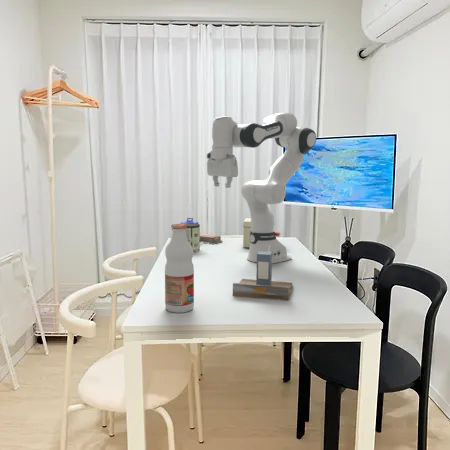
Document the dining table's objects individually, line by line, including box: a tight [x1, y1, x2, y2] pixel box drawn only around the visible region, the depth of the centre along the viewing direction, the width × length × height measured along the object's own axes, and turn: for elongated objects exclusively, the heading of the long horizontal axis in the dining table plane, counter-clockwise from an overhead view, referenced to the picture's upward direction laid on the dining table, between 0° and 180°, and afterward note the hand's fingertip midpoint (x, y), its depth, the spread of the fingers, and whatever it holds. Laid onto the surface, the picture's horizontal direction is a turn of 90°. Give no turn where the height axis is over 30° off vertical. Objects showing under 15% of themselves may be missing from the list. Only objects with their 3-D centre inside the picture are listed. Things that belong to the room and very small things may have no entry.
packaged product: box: [200, 232, 224, 245], centre depth 262 cm, size 18×5×10 cm
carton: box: [255, 251, 273, 286], centre depth 163 cm, size 5×5×13 cm
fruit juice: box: [164, 223, 195, 314], centre depth 142 cm, size 9×9×28 cm
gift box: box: [242, 217, 251, 249], centre depth 249 cm, size 17×18×17 cm
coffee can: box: [186, 223, 201, 253], centre depth 236 cm, size 10×10×14 cm
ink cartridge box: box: [179, 217, 199, 224], centre depth 257 cm, size 10×6×14 cm, turn 77°
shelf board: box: [232, 278, 293, 301], centre depth 164 cm, size 18×20×4 cm
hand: (222, 187), depth 188 cm, fingers open, 8 cm apart
